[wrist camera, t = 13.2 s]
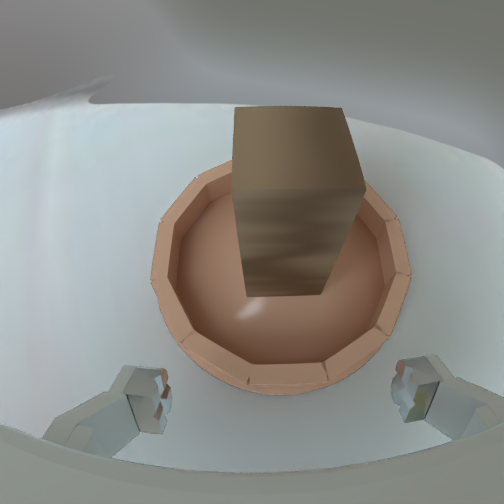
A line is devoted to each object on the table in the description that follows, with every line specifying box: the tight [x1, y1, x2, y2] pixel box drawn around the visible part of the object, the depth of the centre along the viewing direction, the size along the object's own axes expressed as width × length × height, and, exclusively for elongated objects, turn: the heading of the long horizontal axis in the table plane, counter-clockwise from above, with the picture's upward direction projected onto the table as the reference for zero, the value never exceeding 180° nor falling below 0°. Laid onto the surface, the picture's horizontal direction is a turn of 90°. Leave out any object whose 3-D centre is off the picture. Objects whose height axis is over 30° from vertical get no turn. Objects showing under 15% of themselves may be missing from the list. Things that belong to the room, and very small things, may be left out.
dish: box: [150, 160, 411, 395], centre depth 19 cm, size 16×16×3 cm
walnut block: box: [231, 106, 366, 297], centre depth 15 cm, size 4×4×10 cm
